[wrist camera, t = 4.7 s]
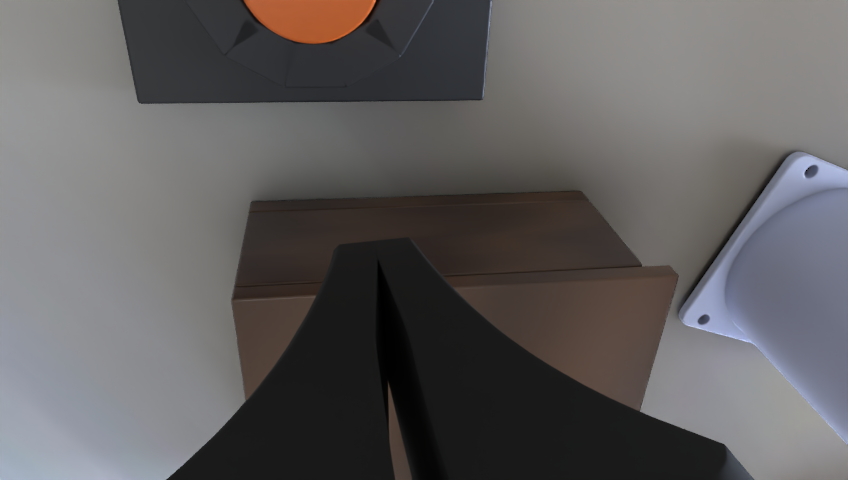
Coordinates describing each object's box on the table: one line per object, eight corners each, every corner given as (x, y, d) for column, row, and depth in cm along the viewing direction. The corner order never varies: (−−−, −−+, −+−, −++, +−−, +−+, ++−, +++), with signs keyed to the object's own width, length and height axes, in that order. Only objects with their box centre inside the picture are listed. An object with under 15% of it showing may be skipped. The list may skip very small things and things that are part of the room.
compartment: (581, 190, 22) (643, 264, 18) (537, 436, 29) (575, 534, 25) (250, 200, 21) (233, 285, 17) (280, 460, 27) (273, 569, 23)
